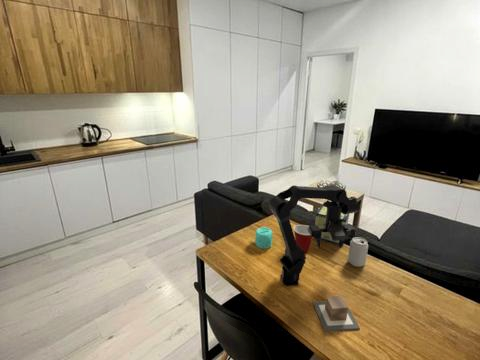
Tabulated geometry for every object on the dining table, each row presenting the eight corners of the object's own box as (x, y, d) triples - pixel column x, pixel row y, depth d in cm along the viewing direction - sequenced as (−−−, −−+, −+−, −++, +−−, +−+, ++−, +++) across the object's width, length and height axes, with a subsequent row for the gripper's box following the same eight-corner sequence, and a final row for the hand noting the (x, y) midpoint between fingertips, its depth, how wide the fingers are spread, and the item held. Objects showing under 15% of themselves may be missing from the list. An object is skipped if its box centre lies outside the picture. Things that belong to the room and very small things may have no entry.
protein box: (318, 230, 150) (320, 205, 145) (346, 237, 142) (350, 211, 137) (313, 238, 141) (315, 212, 136) (343, 246, 134) (346, 219, 129)
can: (366, 268, 117) (370, 245, 113) (349, 266, 119) (352, 244, 115) (362, 258, 124) (366, 236, 120) (346, 256, 125) (349, 235, 122)
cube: (330, 321, 90) (332, 308, 88) (324, 308, 95) (326, 296, 93) (346, 320, 90) (348, 307, 88) (339, 307, 95) (341, 295, 94)
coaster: (324, 331, 87) (324, 329, 87) (313, 303, 98) (313, 302, 98) (359, 329, 87) (359, 327, 87) (344, 301, 99) (344, 300, 99)
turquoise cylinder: (255, 247, 133) (255, 234, 131) (257, 239, 141) (257, 226, 138) (270, 249, 132) (271, 235, 129) (272, 241, 139) (272, 228, 136)
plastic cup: (316, 247, 133) (318, 226, 129) (309, 258, 124) (311, 236, 121) (296, 241, 139) (297, 221, 135) (288, 251, 130) (289, 230, 126)
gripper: (317, 225, 99) (314, 260, 104) (365, 224, 100) (359, 258, 105) (308, 212, 109) (306, 244, 114) (352, 211, 110) (347, 243, 115)
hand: (329, 248), depth 112 cm, fingers open, 9 cm apart
